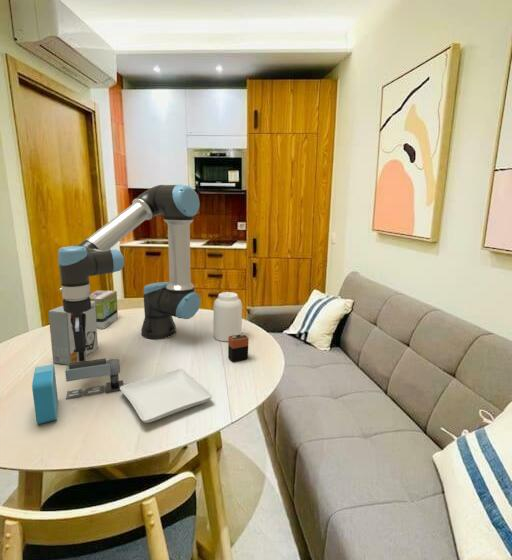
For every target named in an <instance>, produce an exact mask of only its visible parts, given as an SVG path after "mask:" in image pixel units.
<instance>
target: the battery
mask: <svg viewBox="0 0 512 560" xmlns="http://www.w3.org/2000/svg"><path fill="white" fill-rule="evenodd" d="M249 339H250V338H249V337H248V336H247V335H246V333H244V332H241V333H240V335H232V336H229V337H228V343H227V344H228V345H227V354H228V355H227V358H228V359H229V360H230V361H231V363H236V362H240V361H241V362H242V361H245V360H248V359H249Z"/></svg>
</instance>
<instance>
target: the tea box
mask: <svg viewBox="0 0 512 560" xmlns="http://www.w3.org/2000/svg"><path fill="white" fill-rule="evenodd" d="M89 297H90V298H91V301H95V309H96V325H97V330H104V329H106V328H107V327H108V326H110V325H111V324H112V323H114V322H115V321H116V320H118V317H119V316H118V314H119V312H118V292H117V290H99V289H97V290H95V291H93V292H92V293H91V292H90V296H89Z"/></svg>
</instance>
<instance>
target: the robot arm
mask: <svg viewBox="0 0 512 560" xmlns="http://www.w3.org/2000/svg"><path fill="white" fill-rule="evenodd" d="M131 203H132V204H130V205H129V206H128V207H127V208H125V209H124V210H122V211H121V212H120V213H119V214H117V216H115V217H113V218H112V219H111V220H109V221H107V223H106V224H104V225H103V226H102V227H100V228H98V230H96V231H95V232H94V233H93V234H91V235H90V236H89V237H87V238H86V239H84V240H83V241H82V242H80V243H79V244H78V245H76V244H75V245H70V246H63V247H60V248H59V249H58V253H57V259H58V262H57V263H58V268H59V278H60V285H61V287H60V288H59V289H58V291H59V292H61V293H62V294H61V295H62V297H61V298H63V300H62V306H63V309H64V311H65V312H66V313H72V314H73V315H72V316H71V317H72V318H71V324H72V329H73V335H74V342H75V349H74V352H76V353H77V362H82V361H88V355H87V350H86V347H89V345H86V333H85V327H86V314H84V313H83V312H86V311H88V310H90V309H91V298H90V297H89V296H90V294H91V285H90V277H94V276H100V275H104V274H105V275H106V274H107V275H108V274H113V273H116V272H120V271H121V270H122V269H123V268H124V265H125V261H124V260H125V258H124V255H123V254H122V252H121V251H120V250H118V249H112V248H113V247H114V246H115V245H117V243H119V242H120V241H122V240H123V239H124V238H125V237H126V236H128V235H129V234H130V233H131V232H133V231H134V230H135V229H136V228H137V227H139V226H140V225H141V224H142V223H144V222H145V221H150V220H152V219H153V218H154V217H156V216H159V215H163V221H164V222H165V223H166V224H167V241H168V242H167V243H168V245H167V246H168V247H167V248H168V273H169V274H168V276H169V278H168V279H169V281H160V282H153V283H149V284H146V285H145V286H144V287H143V307H144V309H143V310H144V319H143V323H142V325H141V326H142V327H141V329H140V334H141V336H142V337H143V338H144V339H150V340H163V339H167V338H170V337H172V336H174V335H175V334H176V333H177V327H176V324H175V320H174V318H178V319H183V320H189V319H191V318H193V317H194V316H195V315H196V314H197V312H198V311H199V310H200V307H201V297H200V295H199V294H198V293H197V292H195V284H193V283H192V282H191V281H192V280H191V279H192V277H191V275H192V274H191V229H190V228H191V226H190V225H191V224H192V223H193V222H194V216H196V215H197V214H198V213H199V212H198V211H199V209H200V198H199V195H198V193H197V192H196V191H195V189H194V188H192V186H189V185H186V184H184V185H183V184H158V185H154V186H153V187H151V188H149V189H147V190H146V191H144V192H142V193H141V194H139V195H138V196H137V197H135V198H134V199H132V202H131ZM173 317H174V318H173Z"/></svg>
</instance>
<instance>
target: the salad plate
mask: <svg viewBox="0 0 512 560" xmlns="http://www.w3.org/2000/svg"><path fill="white" fill-rule="evenodd" d="M120 390H121V391H120V392H121V393H122V395H124V397H126V399H127V400H128V401H129V402H130V404H131V405H132V407H133V408H134V410H135V412H136V414H137V415H138V417H139V418H140V420H141V421H142V422H143V423H152V422H156V421H157V420H160V419H163V418H165V417H168V416H171V415H173V414H177V413H179V412H182V411H184V410H187V409H190V408H192V407H196V406H199V405H201V404H204V403H206V402H208V401H209V400H211V399H212V397H213V395H212V393H211V392H210V391H209V390H208V389H206V388H205V387H204V386H203V385H201V383H199V382H198V381H197V380H196V379H195V378H194V377H192V376H191V375H190V374H189V373H188V372H187V371H186V370H184V368H178V369H174V370H171V371H168V372H164V373H160V374H157V375H152V376H150V377H145V378H142V379H139V380H137V381H133V382H130V383H126V384H123V386H121V387H120Z"/></svg>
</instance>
